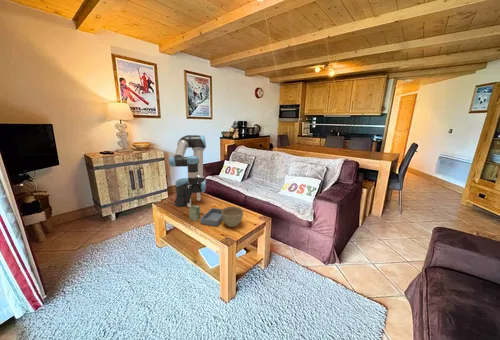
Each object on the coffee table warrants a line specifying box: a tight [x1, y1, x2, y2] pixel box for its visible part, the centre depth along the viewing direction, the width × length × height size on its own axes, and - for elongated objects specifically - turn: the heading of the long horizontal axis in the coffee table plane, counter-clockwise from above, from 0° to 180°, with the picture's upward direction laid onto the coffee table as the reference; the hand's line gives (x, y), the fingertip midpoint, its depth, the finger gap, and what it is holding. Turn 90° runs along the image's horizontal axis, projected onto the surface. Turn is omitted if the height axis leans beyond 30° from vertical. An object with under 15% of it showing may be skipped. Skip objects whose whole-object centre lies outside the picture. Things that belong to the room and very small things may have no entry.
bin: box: [199, 207, 224, 228], centre depth 159 cm, size 20×14×4 cm
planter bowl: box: [222, 206, 244, 228], centre depth 152 cm, size 16×16×11 cm
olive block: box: [188, 204, 201, 222], centre depth 158 cm, size 6×6×10 cm
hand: (194, 203), depth 156 cm, fingers open, 13 cm apart
